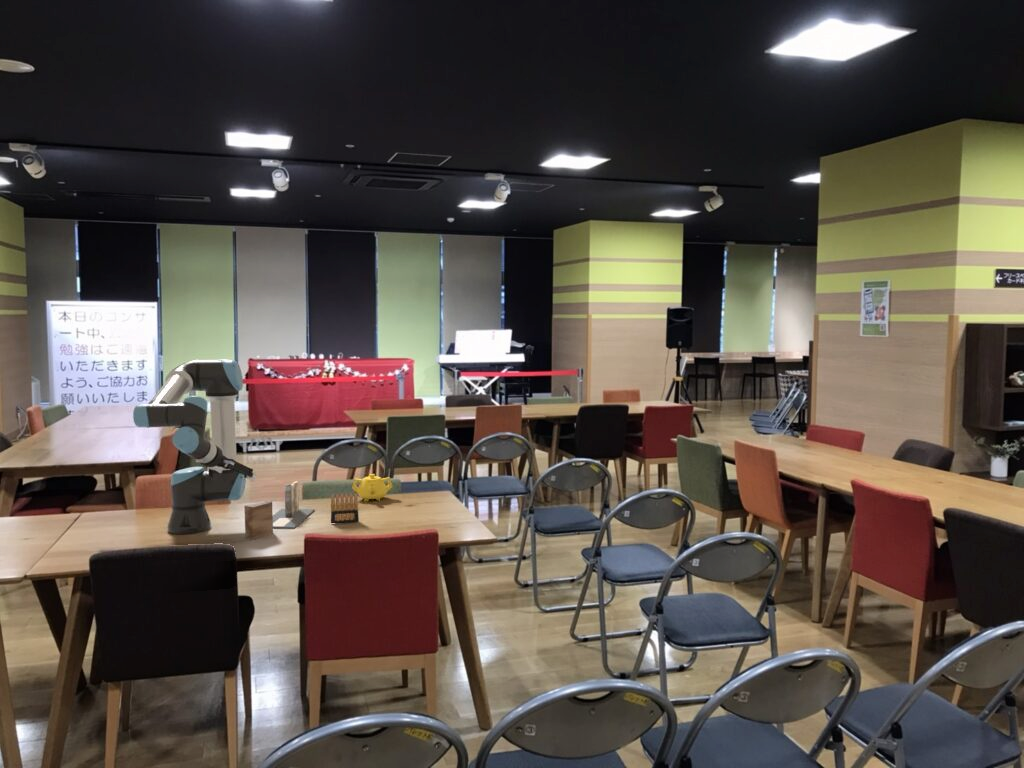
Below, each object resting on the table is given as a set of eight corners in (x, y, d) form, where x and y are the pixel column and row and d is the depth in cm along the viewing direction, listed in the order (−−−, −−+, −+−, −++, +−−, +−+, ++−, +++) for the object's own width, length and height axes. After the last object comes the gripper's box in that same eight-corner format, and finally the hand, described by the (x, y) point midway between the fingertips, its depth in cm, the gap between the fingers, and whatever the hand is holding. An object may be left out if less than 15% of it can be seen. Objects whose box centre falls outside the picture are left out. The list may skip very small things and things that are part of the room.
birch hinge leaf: (290, 517, 306) (290, 485, 305) (284, 517, 306) (283, 485, 305) (300, 509, 318) (299, 479, 317) (294, 509, 318) (293, 479, 317)
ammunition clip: (358, 521, 303) (357, 491, 302) (358, 522, 301) (358, 492, 300) (330, 523, 300) (330, 493, 299) (331, 524, 298) (330, 494, 297)
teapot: (352, 494, 348) (352, 470, 347) (392, 493, 351) (391, 469, 350) (351, 505, 328) (350, 479, 327) (393, 503, 332) (393, 478, 331)
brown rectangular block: (245, 537, 280) (244, 505, 279) (267, 531, 289) (266, 500, 288) (253, 539, 278) (252, 507, 277) (275, 532, 287) (274, 501, 286)
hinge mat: (294, 528, 292) (294, 526, 292) (257, 528, 293) (257, 526, 293) (314, 510, 320) (314, 508, 320) (281, 510, 320) (281, 508, 320)
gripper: (171, 455, 257) (204, 475, 276) (234, 471, 251) (263, 491, 269) (181, 435, 260) (213, 456, 279) (243, 451, 253) (271, 471, 272)
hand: (237, 473), depth 274 cm, fingers open, 13 cm apart
